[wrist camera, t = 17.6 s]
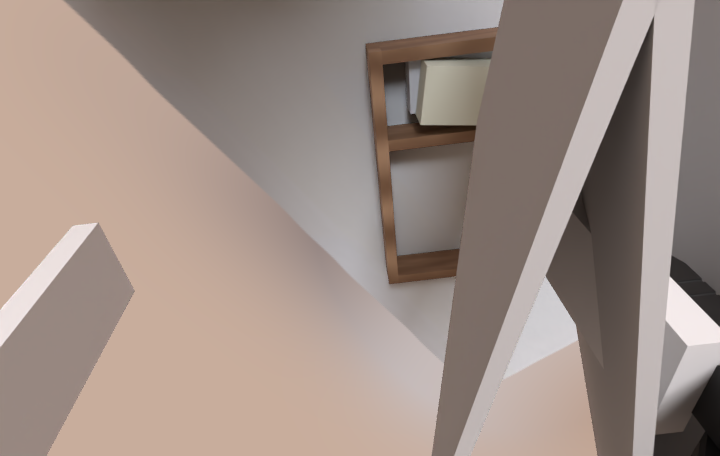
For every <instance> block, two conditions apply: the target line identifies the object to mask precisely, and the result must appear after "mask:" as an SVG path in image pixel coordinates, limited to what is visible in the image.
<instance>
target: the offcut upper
mask: <svg viewBox="0 0 720 456" xmlns="http://www.w3.org/2000/svg"><path fill="white" fill-rule="evenodd" d="M490 61H491V59H489V58H432V59H424V60H421V67H420V76H419V86H418V95H417V105H416V116H417V118H418V121H419V123H420V125H477V119H478V115H479V111H480V106H481V102H482V97H483V93H484V88H485V84H486V79H487V75H488V70H489V66H490Z"/></svg>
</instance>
